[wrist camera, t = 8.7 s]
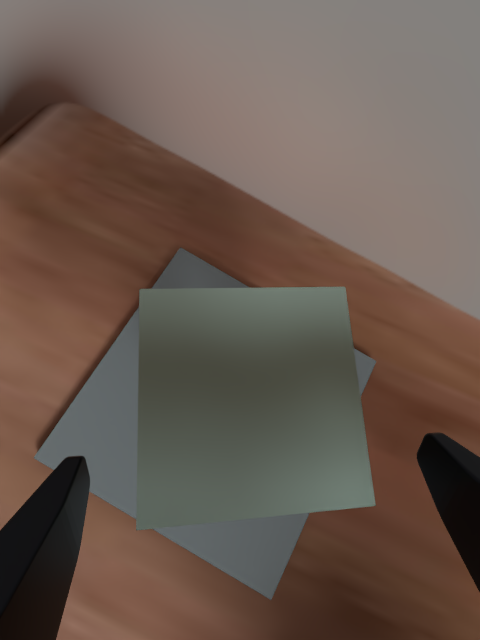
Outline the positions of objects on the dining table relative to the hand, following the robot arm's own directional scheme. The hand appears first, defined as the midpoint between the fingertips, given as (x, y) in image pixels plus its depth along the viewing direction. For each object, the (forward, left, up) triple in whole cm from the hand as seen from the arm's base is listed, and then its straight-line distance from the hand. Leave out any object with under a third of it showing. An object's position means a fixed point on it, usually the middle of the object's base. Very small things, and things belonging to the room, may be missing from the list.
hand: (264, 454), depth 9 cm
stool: (+1, +1, -11) cm, 11 cm away
